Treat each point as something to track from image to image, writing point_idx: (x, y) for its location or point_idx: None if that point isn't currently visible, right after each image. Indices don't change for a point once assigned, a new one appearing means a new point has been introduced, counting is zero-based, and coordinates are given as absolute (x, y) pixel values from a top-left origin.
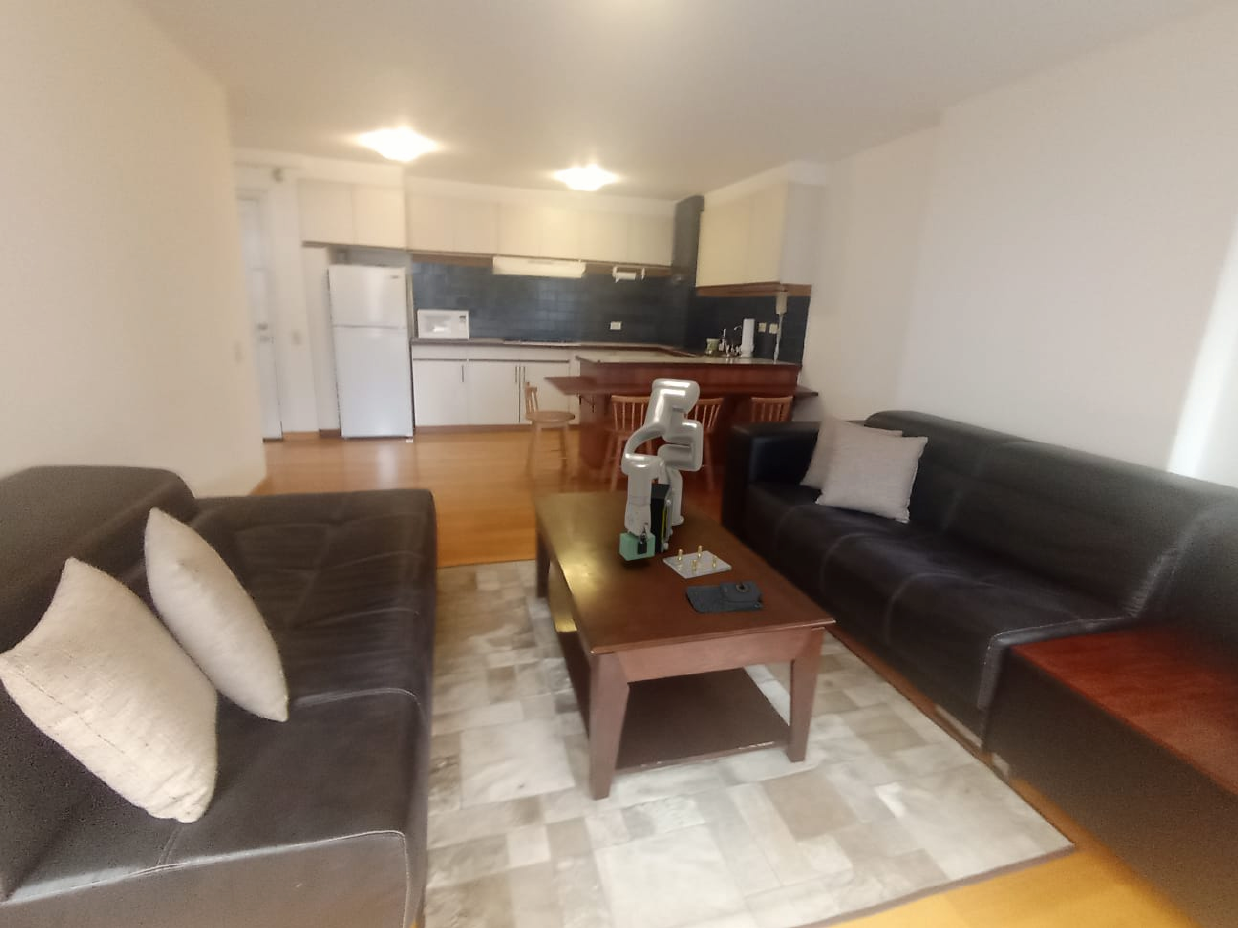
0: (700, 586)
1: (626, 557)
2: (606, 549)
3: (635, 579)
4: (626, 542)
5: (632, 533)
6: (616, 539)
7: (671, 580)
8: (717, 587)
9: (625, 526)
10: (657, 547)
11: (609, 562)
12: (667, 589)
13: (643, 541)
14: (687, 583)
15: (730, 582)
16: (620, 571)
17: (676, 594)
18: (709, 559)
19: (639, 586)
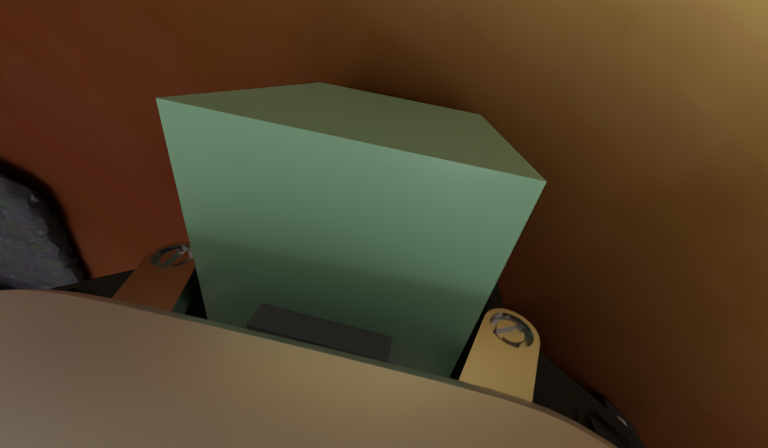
0: (39, 247)
1: (322, 85)
2: (716, 158)
3: (203, 46)
4: (237, 100)
5: (402, 339)
6: (748, 302)
7: (169, 211)
8: (31, 283)
9: (559, 429)
10: None
11: (521, 31)
12: (79, 137)
13: (105, 279)
14: (138, 243)
15: None
16: (343, 18)
17: (32, 141)
18: None
19: (107, 5)
